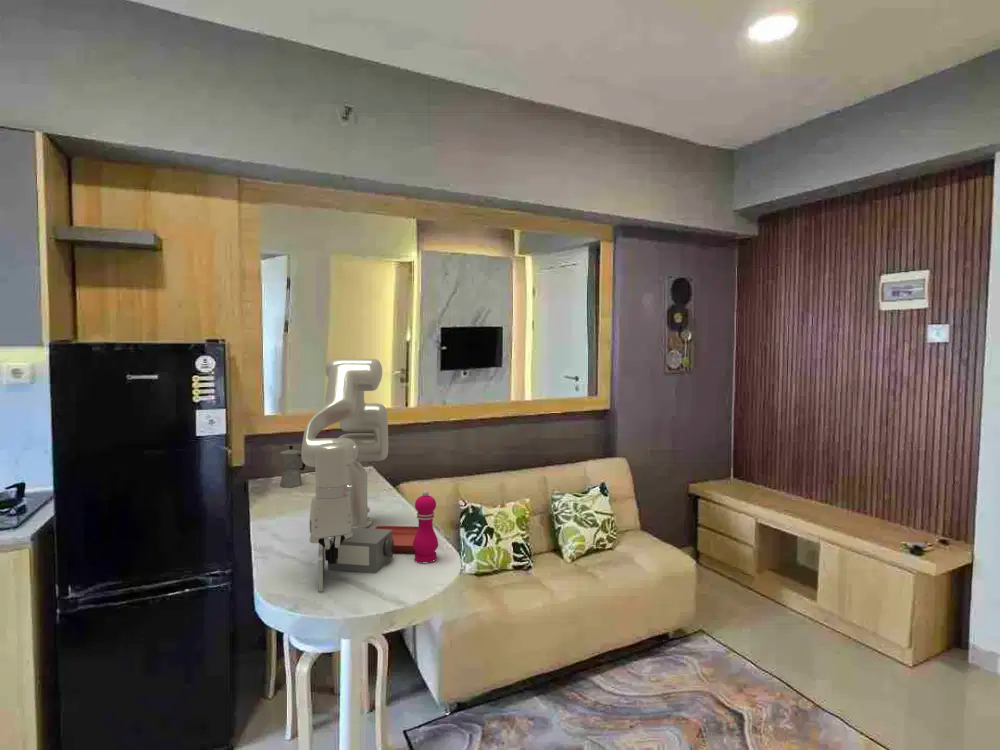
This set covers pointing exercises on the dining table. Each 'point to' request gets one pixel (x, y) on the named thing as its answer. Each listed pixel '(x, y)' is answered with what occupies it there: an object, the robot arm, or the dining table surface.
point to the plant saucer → (402, 537)
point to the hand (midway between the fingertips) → (331, 562)
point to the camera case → (364, 550)
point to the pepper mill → (425, 529)
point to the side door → (321, 565)
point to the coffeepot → (291, 468)
